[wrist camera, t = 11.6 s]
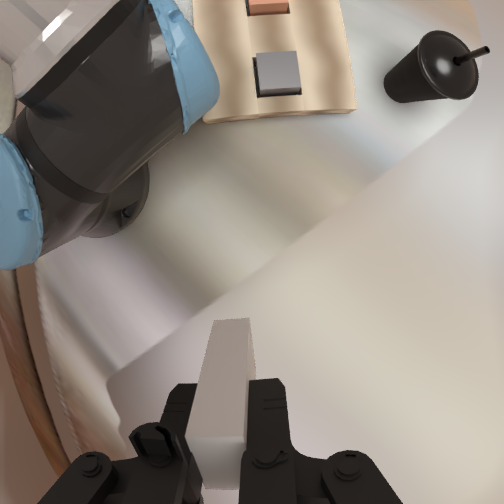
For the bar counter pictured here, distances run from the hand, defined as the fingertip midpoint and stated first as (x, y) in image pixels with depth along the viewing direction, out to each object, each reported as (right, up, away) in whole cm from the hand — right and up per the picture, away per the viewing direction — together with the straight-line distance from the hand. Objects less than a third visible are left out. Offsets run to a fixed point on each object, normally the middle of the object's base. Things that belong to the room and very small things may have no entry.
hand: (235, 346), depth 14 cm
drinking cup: (+21, +26, +23) cm, 41 cm away
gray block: (+4, +25, +22) cm, 33 cm away
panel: (+3, +31, +22) cm, 38 cm away
